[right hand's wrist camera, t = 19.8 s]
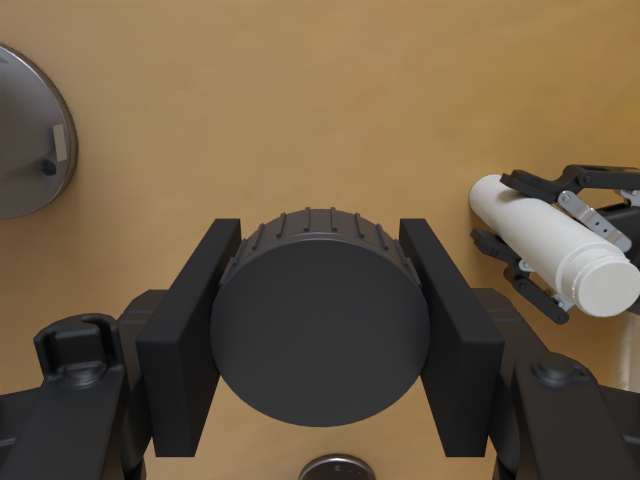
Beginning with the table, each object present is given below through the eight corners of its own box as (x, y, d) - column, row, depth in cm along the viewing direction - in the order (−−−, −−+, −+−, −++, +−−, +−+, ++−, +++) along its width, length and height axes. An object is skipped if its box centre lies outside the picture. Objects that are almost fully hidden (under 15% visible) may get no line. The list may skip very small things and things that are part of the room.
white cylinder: (462, 187, 41) (562, 275, 24) (505, 166, 40) (639, 242, 23) (478, 224, 42) (583, 333, 25) (519, 205, 41) (657, 304, 24)
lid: (456, 275, 12) (483, 316, 10) (341, 403, 13) (345, 460, 11) (293, 164, 11) (287, 187, 9) (189, 318, 12) (164, 365, 10)
